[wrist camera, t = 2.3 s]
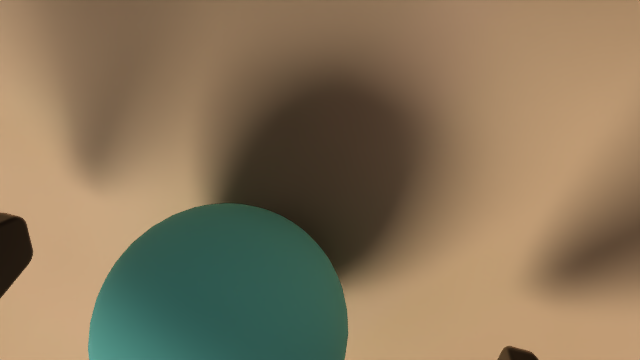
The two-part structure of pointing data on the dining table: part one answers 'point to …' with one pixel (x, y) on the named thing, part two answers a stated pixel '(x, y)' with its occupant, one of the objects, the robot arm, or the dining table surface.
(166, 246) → the bead
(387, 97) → the dining table surface
